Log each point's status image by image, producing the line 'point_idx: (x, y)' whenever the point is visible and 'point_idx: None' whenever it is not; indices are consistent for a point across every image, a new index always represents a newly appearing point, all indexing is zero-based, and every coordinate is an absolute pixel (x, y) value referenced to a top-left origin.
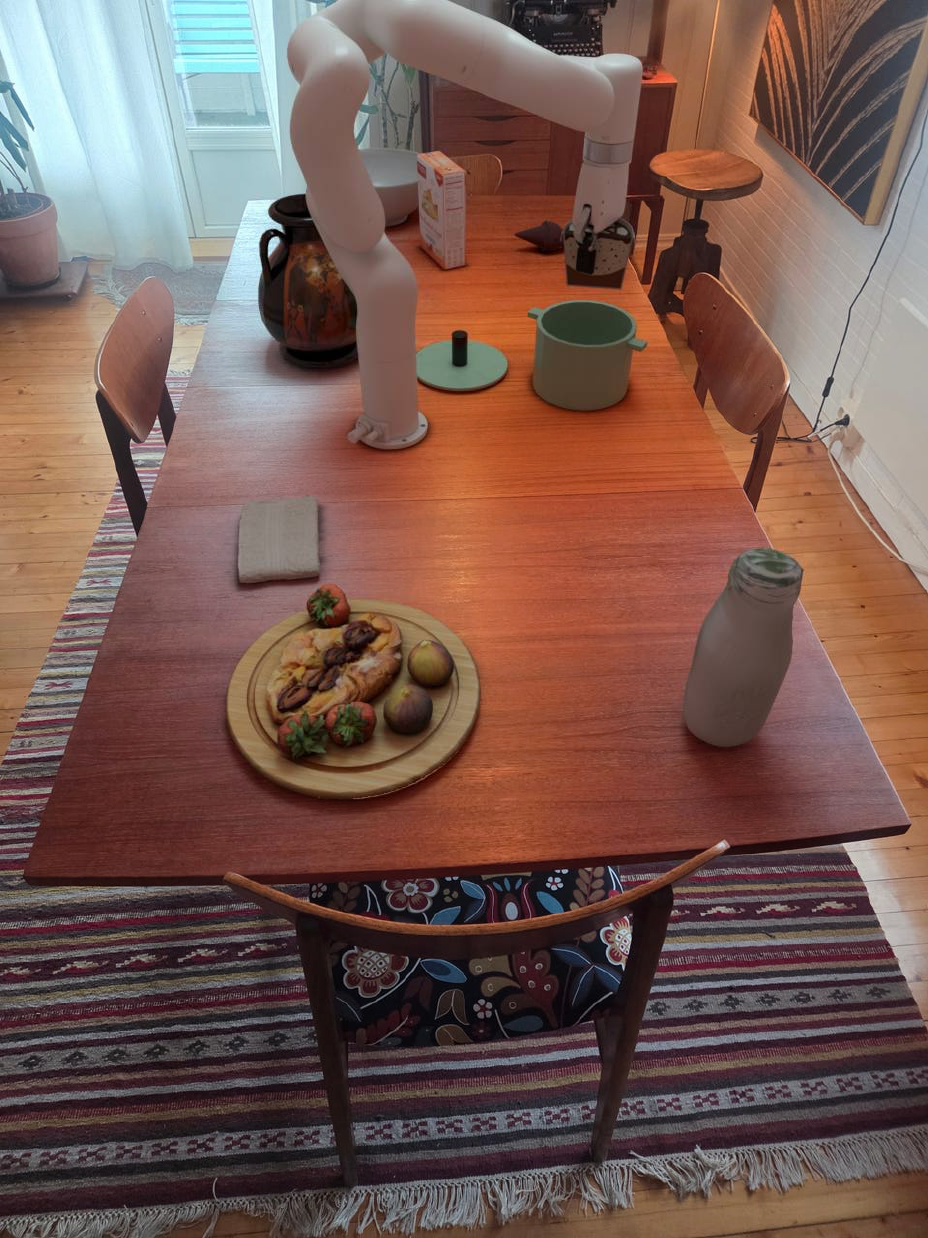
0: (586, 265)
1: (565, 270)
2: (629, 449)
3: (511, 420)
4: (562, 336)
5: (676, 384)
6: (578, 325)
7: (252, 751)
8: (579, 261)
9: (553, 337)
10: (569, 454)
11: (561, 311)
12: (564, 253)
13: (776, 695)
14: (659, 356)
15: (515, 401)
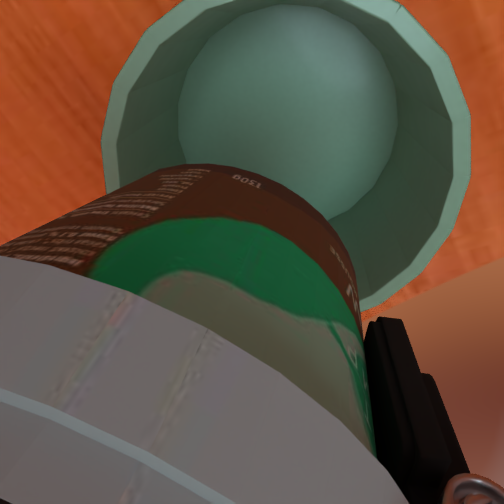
0: None
1: (107, 194)
2: None
3: (50, 46)
4: (375, 34)
5: (382, 305)
6: (414, 82)
7: None
8: None
9: (112, 125)
10: (39, 215)
11: (383, 26)
12: (16, 238)
13: None
14: (498, 245)
15: (125, 9)
